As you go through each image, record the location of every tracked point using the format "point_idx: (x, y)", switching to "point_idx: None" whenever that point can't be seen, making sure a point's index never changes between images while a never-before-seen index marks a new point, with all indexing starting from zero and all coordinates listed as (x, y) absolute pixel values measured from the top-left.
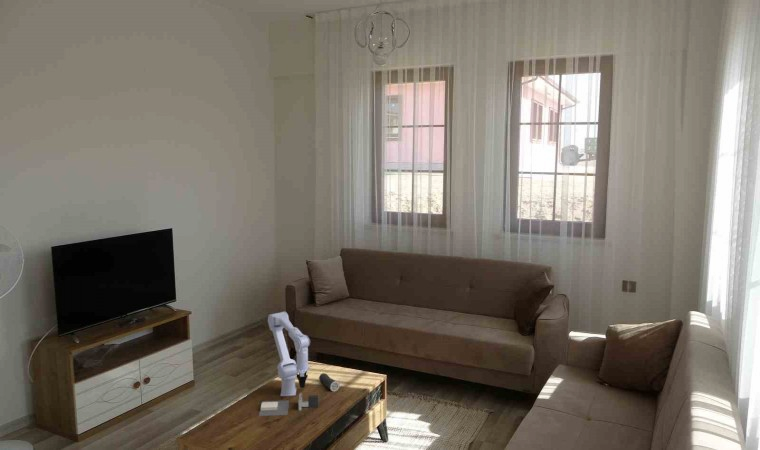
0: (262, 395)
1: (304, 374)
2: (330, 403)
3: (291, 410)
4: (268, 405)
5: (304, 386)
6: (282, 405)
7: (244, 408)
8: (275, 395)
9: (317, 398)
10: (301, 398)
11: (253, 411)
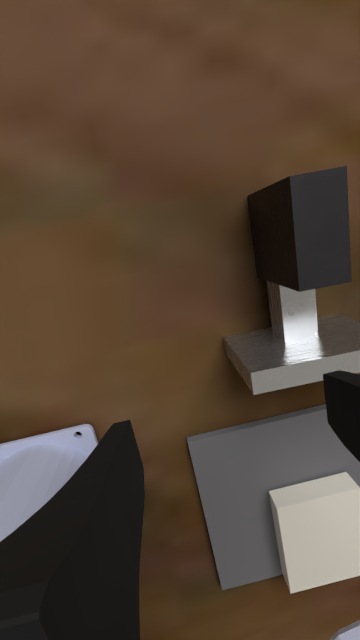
0: None
1: (111, 514)
2: (180, 90)
3: (322, 383)
4: (335, 544)
5: (355, 374)
6: (271, 461)
7: (301, 632)
8: None
9: (339, 178)
10: (321, 350)
11: None
